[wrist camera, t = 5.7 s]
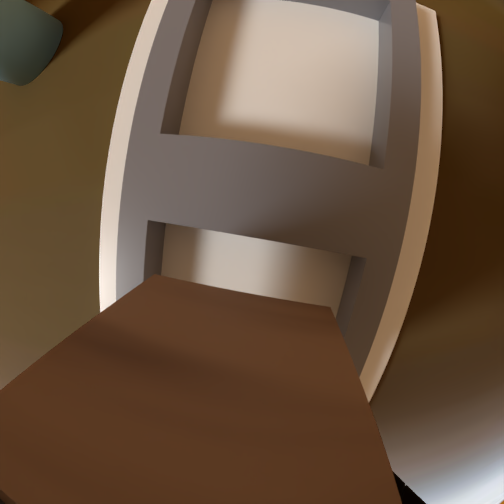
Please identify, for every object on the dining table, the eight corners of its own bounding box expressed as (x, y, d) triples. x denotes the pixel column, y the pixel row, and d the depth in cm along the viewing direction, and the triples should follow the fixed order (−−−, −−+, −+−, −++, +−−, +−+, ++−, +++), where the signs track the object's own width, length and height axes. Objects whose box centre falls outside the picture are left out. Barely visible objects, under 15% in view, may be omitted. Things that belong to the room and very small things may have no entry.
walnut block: (289, 430, 9) (285, 609, 2) (153, 401, 9) (67, 554, 2) (330, 306, 8) (419, 570, 1) (154, 274, 8) (-52, 435, 1)
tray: (350, 426, 13) (357, 456, 11) (112, 379, 14) (93, 403, 12) (430, 16, 8) (449, -5, 6) (168, -23, 9) (153, -46, 7)
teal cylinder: (47, 78, 11) (-40, 50, 4) (5, 91, 11) (-68, 77, 4) (73, 11, 10) (5, -32, 3) (27, 30, 10) (-36, 4, 3)
